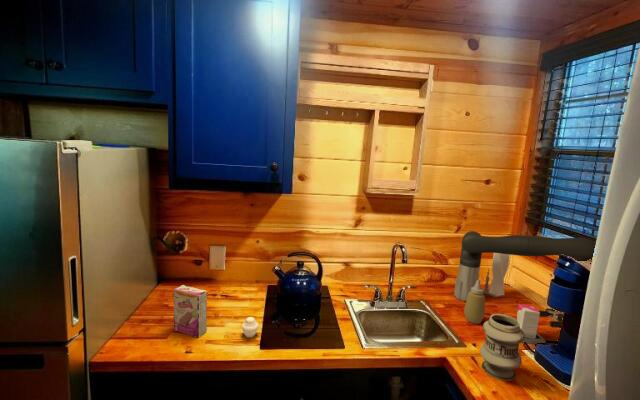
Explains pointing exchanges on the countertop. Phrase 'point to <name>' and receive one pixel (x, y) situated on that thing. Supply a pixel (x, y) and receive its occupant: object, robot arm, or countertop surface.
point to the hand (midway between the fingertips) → (544, 318)
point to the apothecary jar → (501, 346)
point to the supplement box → (528, 320)
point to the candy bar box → (190, 310)
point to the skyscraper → (497, 275)
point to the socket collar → (534, 339)
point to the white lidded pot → (250, 327)
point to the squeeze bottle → (475, 304)
